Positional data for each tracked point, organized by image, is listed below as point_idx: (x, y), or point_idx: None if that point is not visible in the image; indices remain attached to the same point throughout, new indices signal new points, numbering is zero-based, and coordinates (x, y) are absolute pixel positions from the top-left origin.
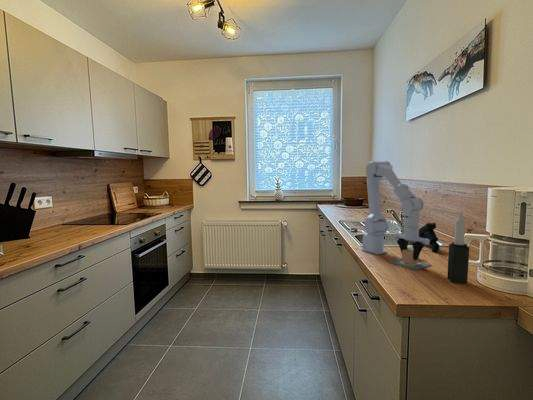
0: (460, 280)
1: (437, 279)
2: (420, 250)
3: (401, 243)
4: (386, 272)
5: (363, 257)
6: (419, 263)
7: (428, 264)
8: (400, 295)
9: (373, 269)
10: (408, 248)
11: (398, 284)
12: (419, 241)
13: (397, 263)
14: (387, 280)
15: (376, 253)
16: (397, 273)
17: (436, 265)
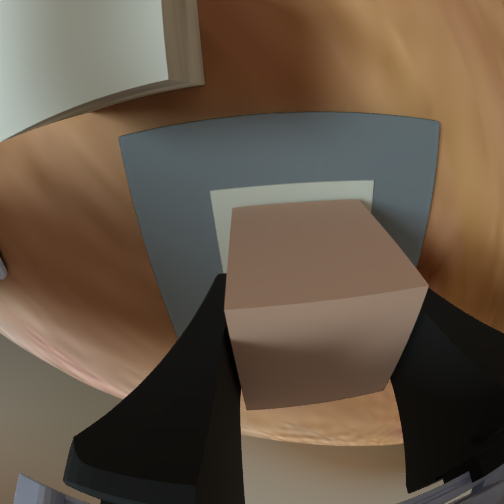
0: None
1: (483, 322)
2: (465, 329)
3: (241, 494)
4: (301, 419)
5: (61, 363)
6: (364, 189)
7: (425, 140)
8: (402, 436)
9: (244, 429)
10: (75, 108)
11: (382, 427)
12: (497, 475)
13: None
14: (345, 435)
15: (1, 279)
16: (339, 401)
17: (452, 78)
